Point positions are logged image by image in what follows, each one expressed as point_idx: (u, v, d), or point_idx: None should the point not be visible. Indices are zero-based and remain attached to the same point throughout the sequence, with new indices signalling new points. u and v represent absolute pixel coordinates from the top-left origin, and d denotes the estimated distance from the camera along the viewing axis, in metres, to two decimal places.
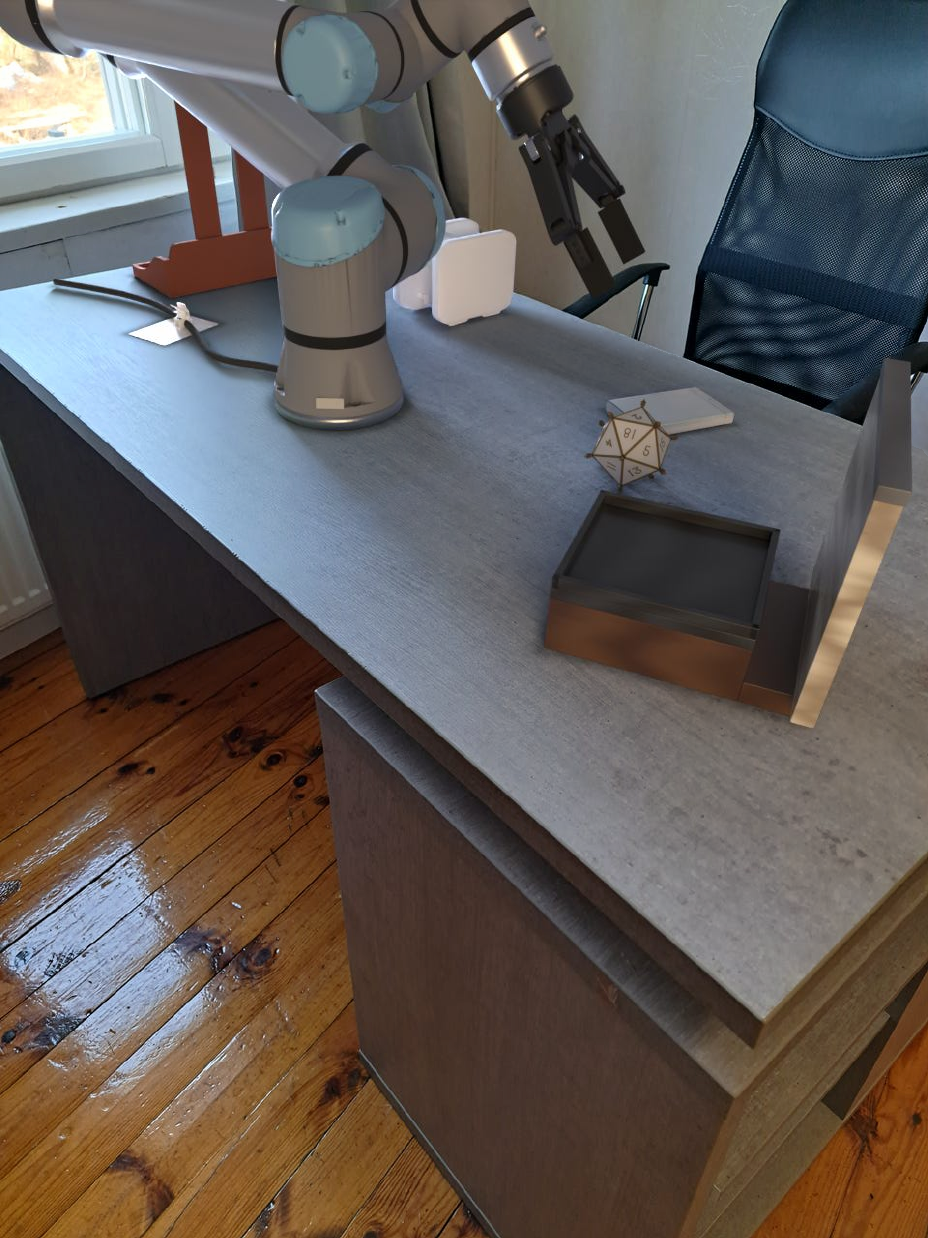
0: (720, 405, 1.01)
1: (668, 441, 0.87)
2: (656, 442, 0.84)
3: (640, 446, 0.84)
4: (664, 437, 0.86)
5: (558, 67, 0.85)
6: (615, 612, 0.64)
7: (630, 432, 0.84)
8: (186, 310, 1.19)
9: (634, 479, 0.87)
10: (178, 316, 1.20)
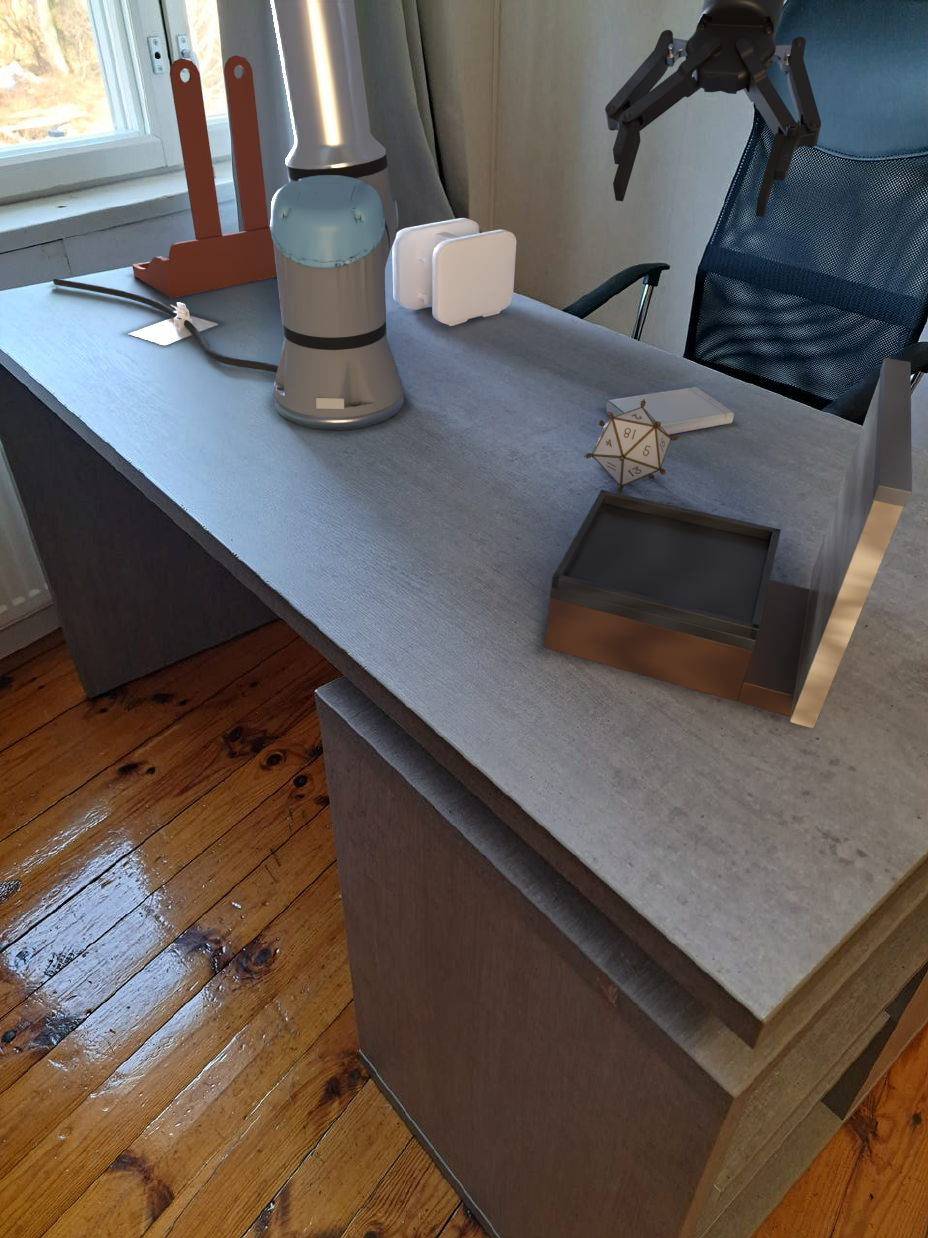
0: (720, 405, 1.01)
1: (668, 441, 0.87)
2: (656, 442, 0.84)
3: (640, 446, 0.84)
4: (664, 437, 0.86)
5: None
6: (615, 612, 0.64)
7: (630, 432, 0.84)
8: (186, 310, 1.19)
9: (634, 479, 0.87)
10: (178, 316, 1.20)
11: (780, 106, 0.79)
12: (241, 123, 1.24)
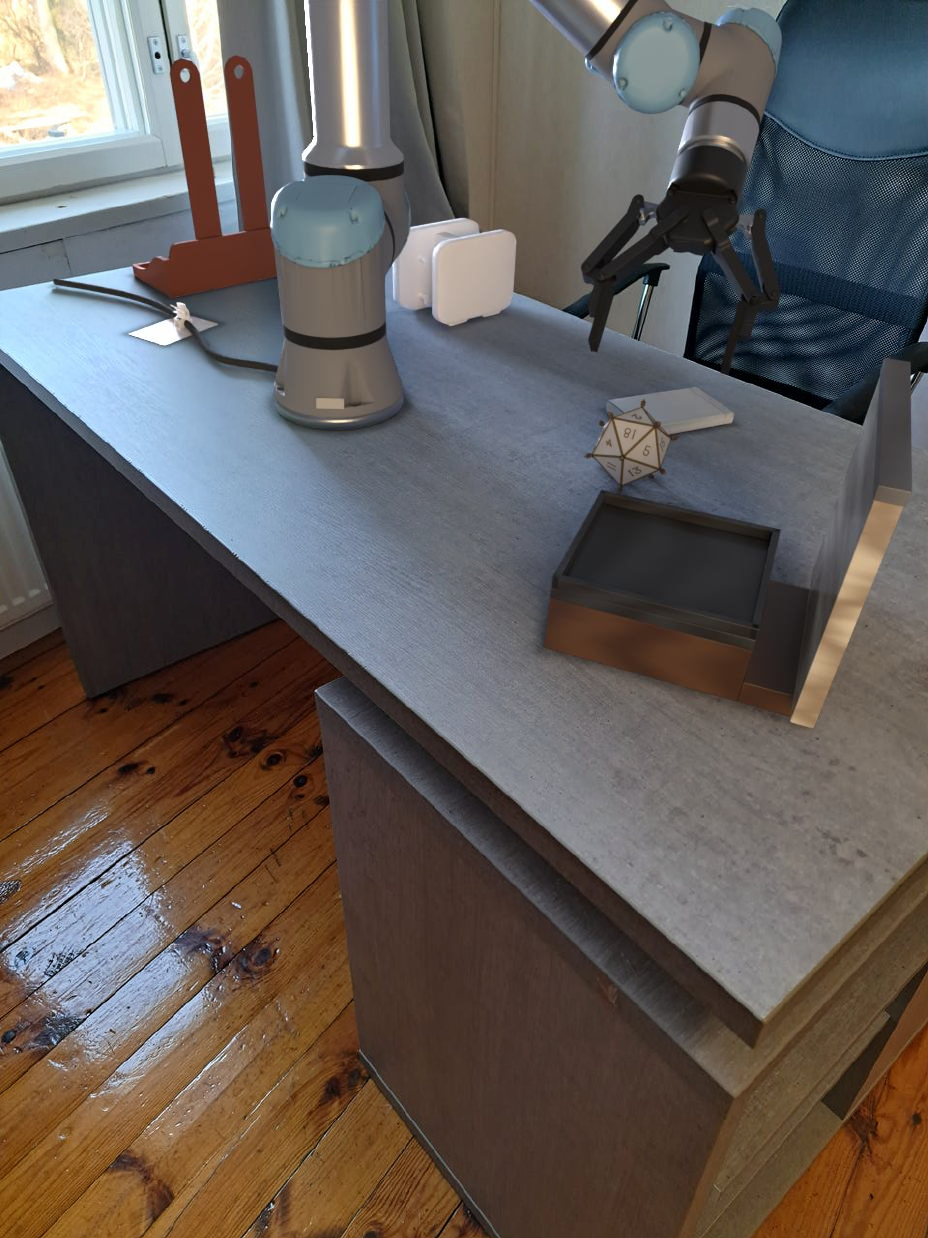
0: (720, 405, 1.01)
1: (668, 441, 0.87)
2: (656, 442, 0.84)
3: (640, 446, 0.84)
4: (664, 437, 0.86)
5: None
6: (615, 612, 0.64)
7: (630, 432, 0.84)
8: (186, 310, 1.19)
9: (634, 479, 0.87)
10: (178, 316, 1.20)
11: (743, 274, 0.85)
12: (241, 123, 1.24)
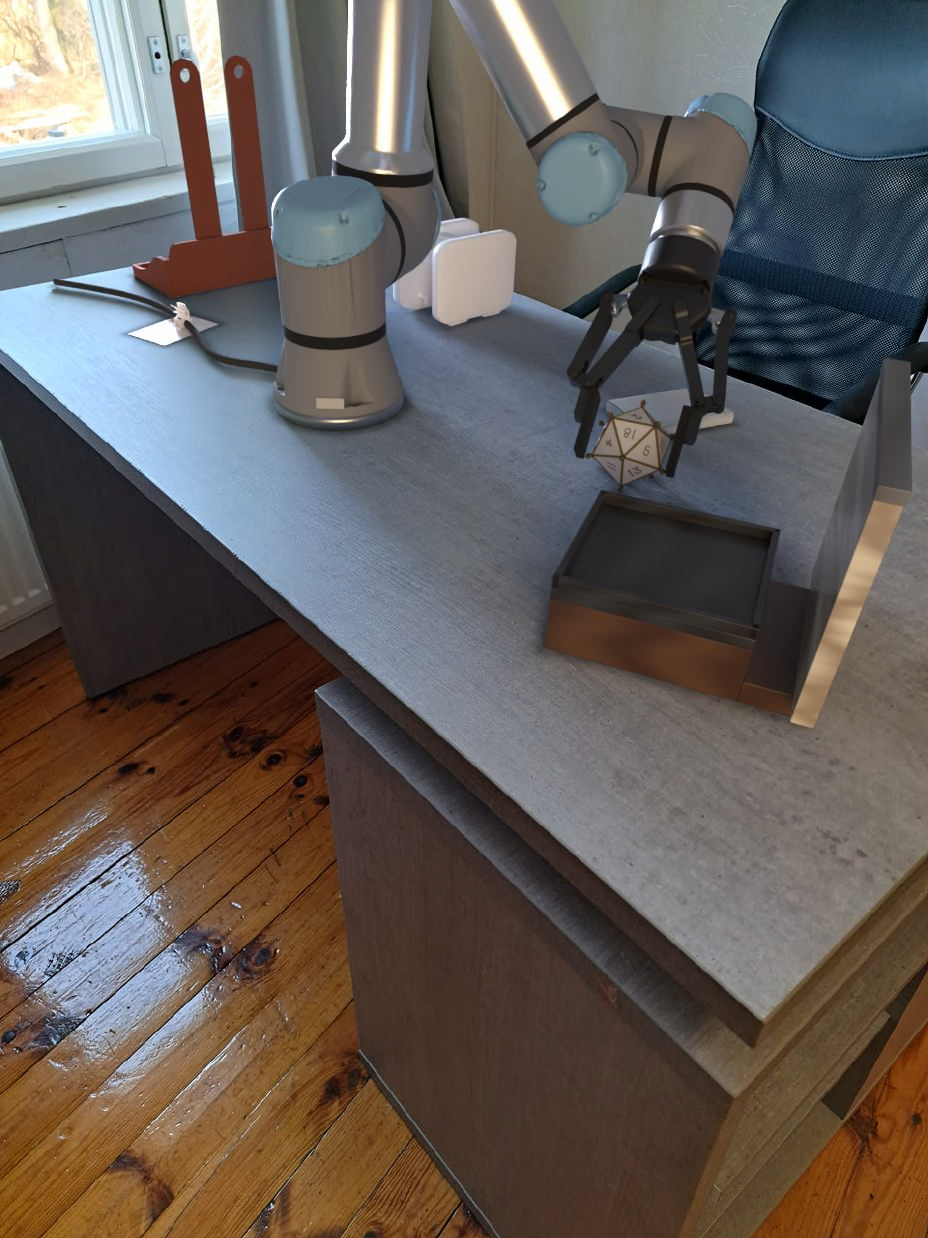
0: None
1: (668, 441, 0.87)
2: (656, 442, 0.84)
3: (640, 446, 0.84)
4: (664, 437, 0.86)
5: None
6: (615, 612, 0.64)
7: (630, 432, 0.84)
8: (186, 310, 1.19)
9: (634, 479, 0.87)
10: (178, 316, 1.20)
11: (695, 376, 0.83)
12: (241, 123, 1.24)
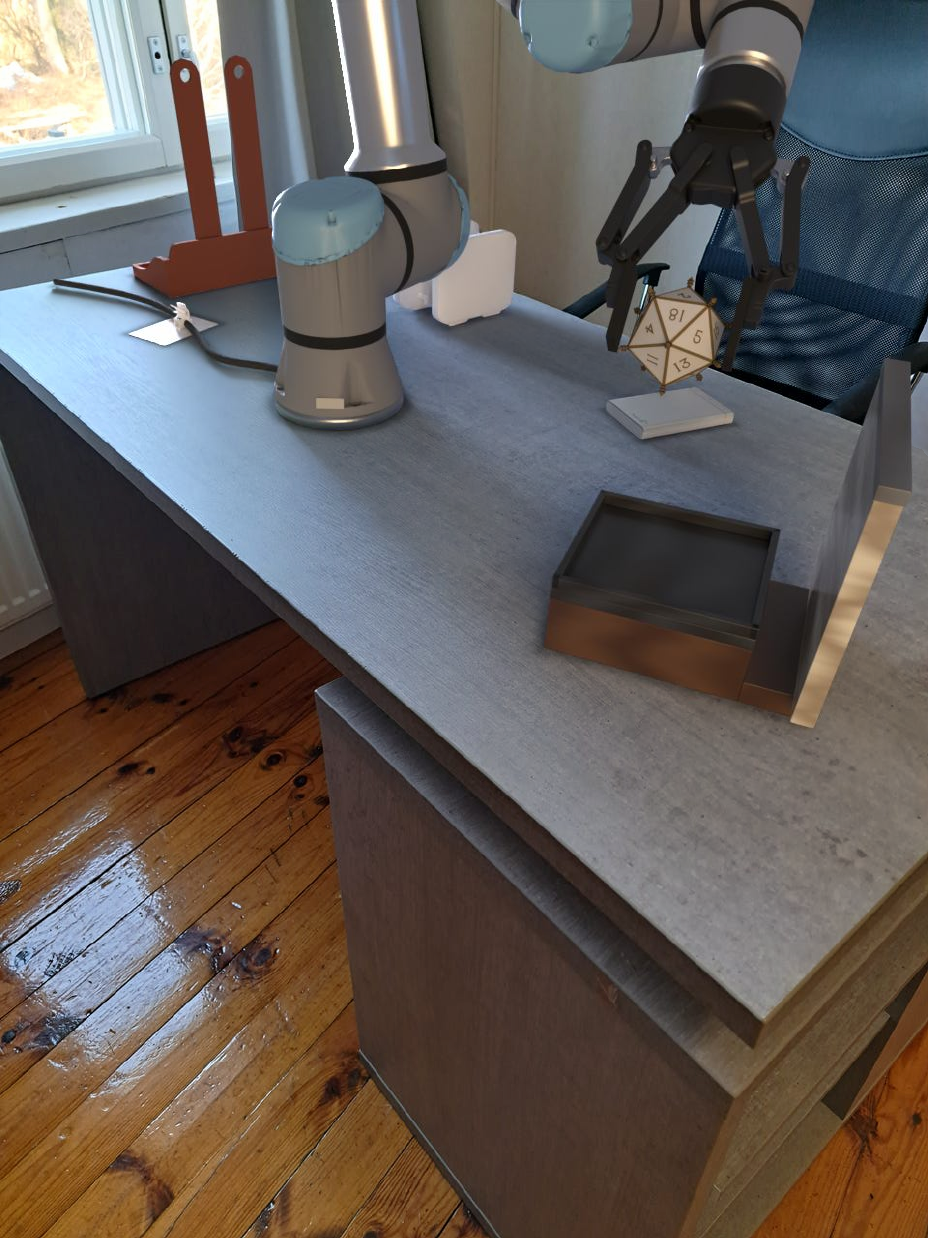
0: (720, 405, 1.01)
1: (722, 329, 0.70)
2: (710, 325, 0.67)
3: (690, 330, 0.67)
4: (718, 323, 0.69)
5: None
6: (615, 612, 0.64)
7: (677, 314, 0.67)
8: (186, 310, 1.19)
9: (680, 376, 0.70)
10: (178, 316, 1.20)
11: (759, 240, 0.66)
12: (241, 122, 1.24)
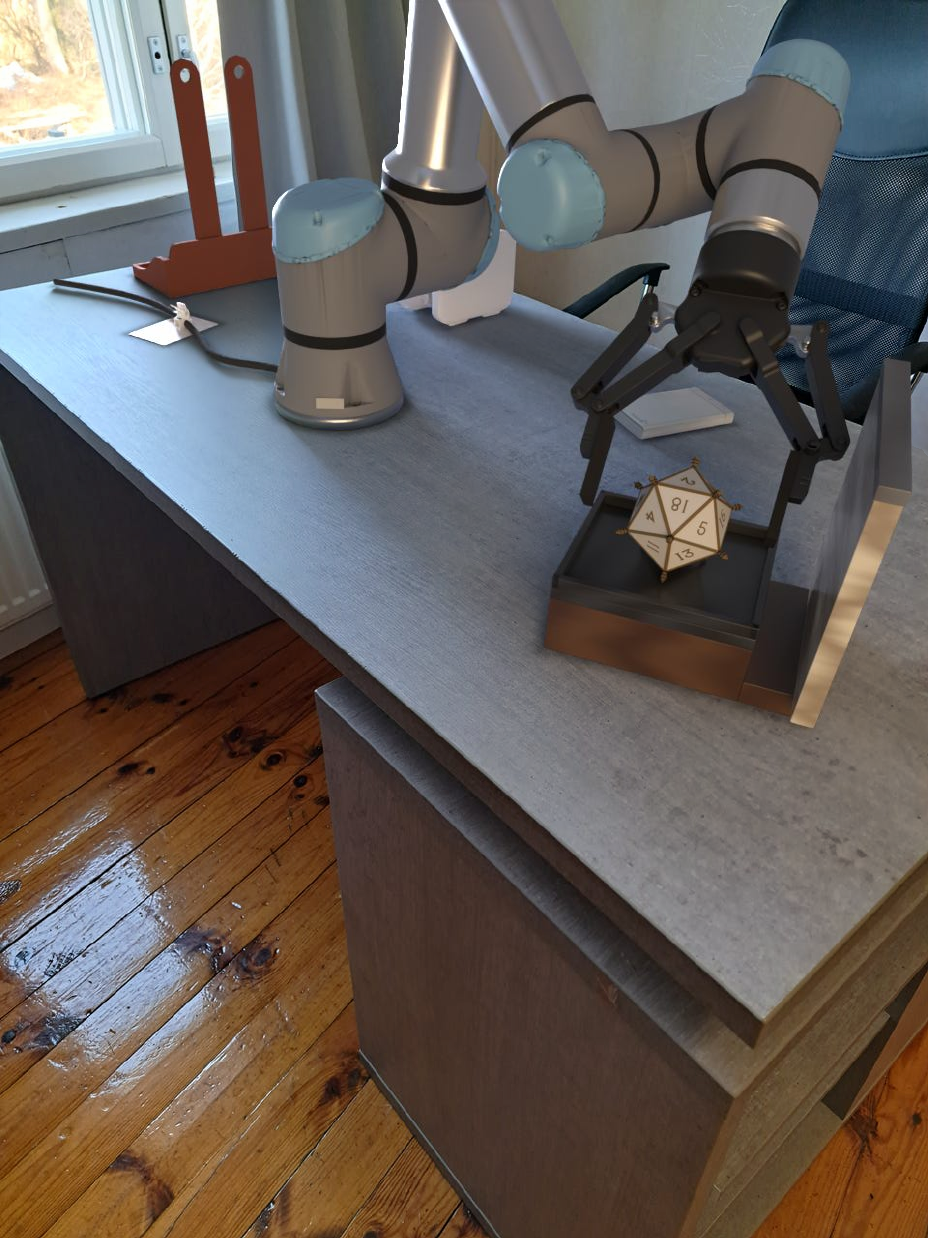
0: (720, 405, 1.01)
1: (729, 512, 0.65)
2: (716, 516, 0.62)
3: (694, 523, 0.62)
4: (724, 509, 0.64)
5: None
6: (615, 612, 0.64)
7: (680, 503, 0.62)
8: (186, 310, 1.19)
9: (683, 564, 0.65)
10: (178, 316, 1.20)
11: (797, 412, 0.61)
12: (241, 123, 1.24)
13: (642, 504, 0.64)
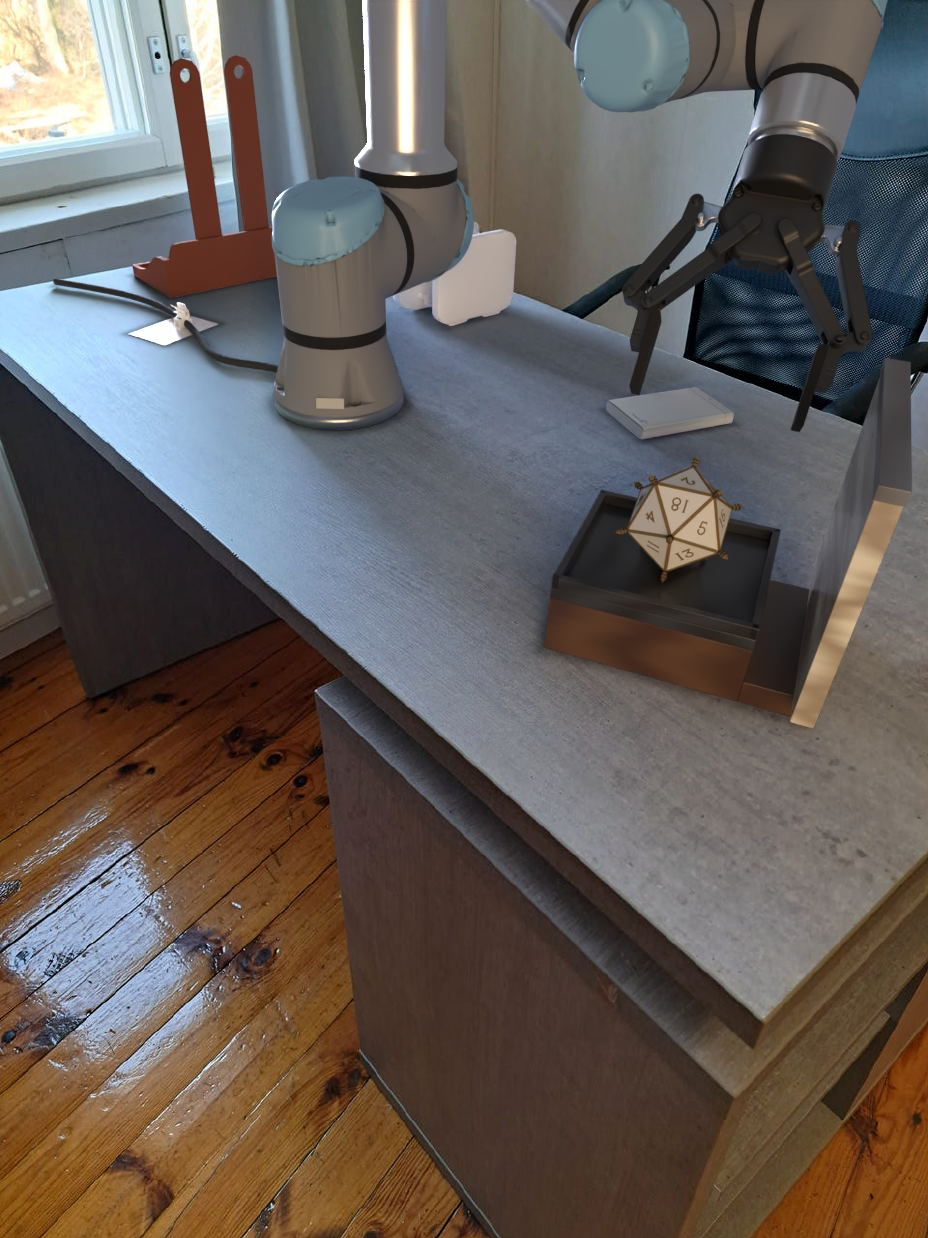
0: (720, 405, 1.01)
1: (729, 512, 0.65)
2: (716, 516, 0.62)
3: (694, 523, 0.62)
4: (724, 509, 0.64)
5: None
6: (615, 612, 0.64)
7: (680, 503, 0.62)
8: (186, 310, 1.19)
9: (683, 564, 0.65)
10: (178, 316, 1.20)
11: (826, 309, 0.68)
12: (241, 123, 1.24)
13: (642, 504, 0.64)
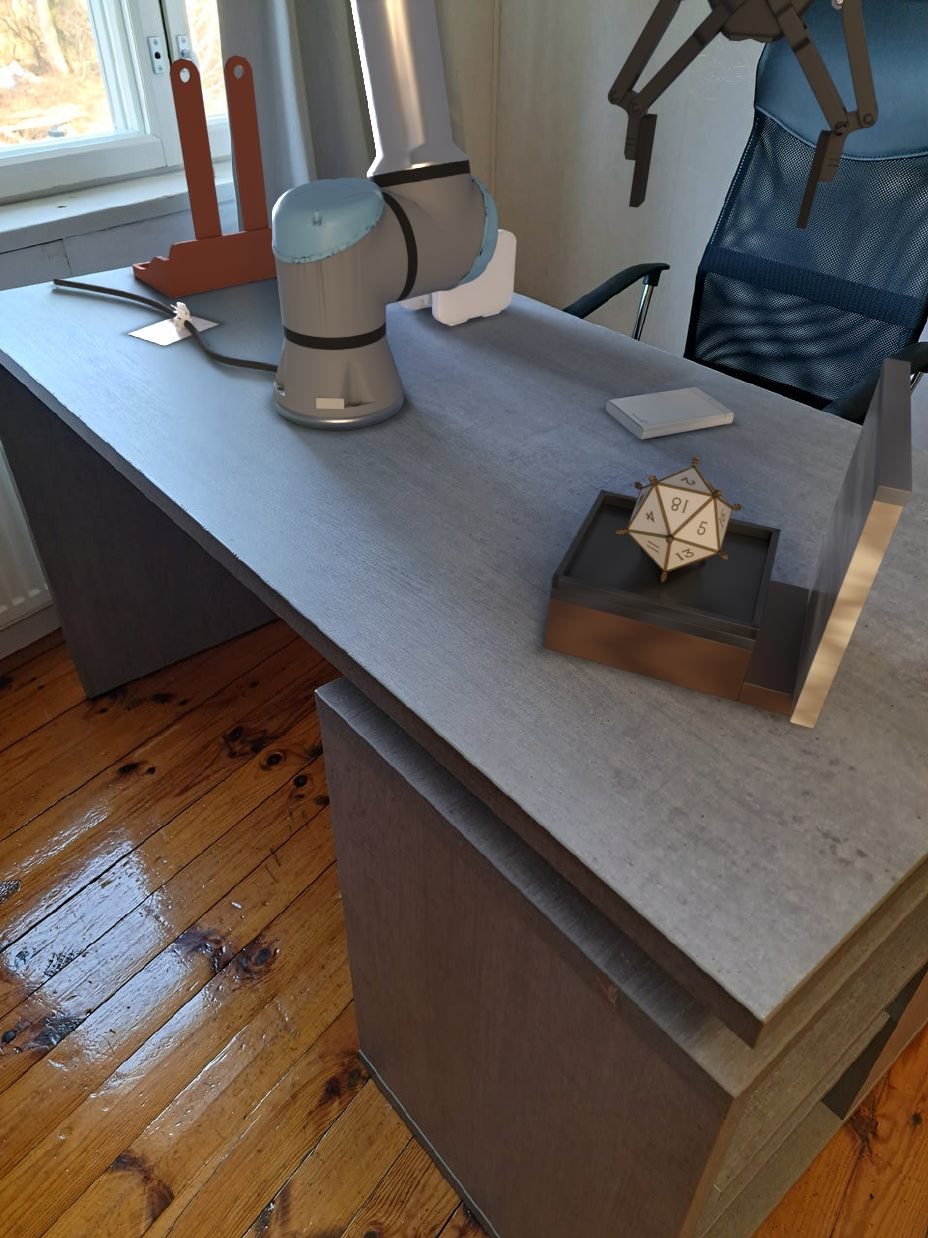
0: (720, 405, 1.01)
1: (729, 512, 0.65)
2: (716, 516, 0.62)
3: (694, 523, 0.62)
4: (724, 509, 0.64)
5: None
6: (615, 612, 0.64)
7: (680, 503, 0.62)
8: (186, 310, 1.19)
9: (683, 564, 0.65)
10: (178, 316, 1.20)
11: (826, 91, 0.63)
12: (241, 122, 1.24)
13: (642, 504, 0.64)
